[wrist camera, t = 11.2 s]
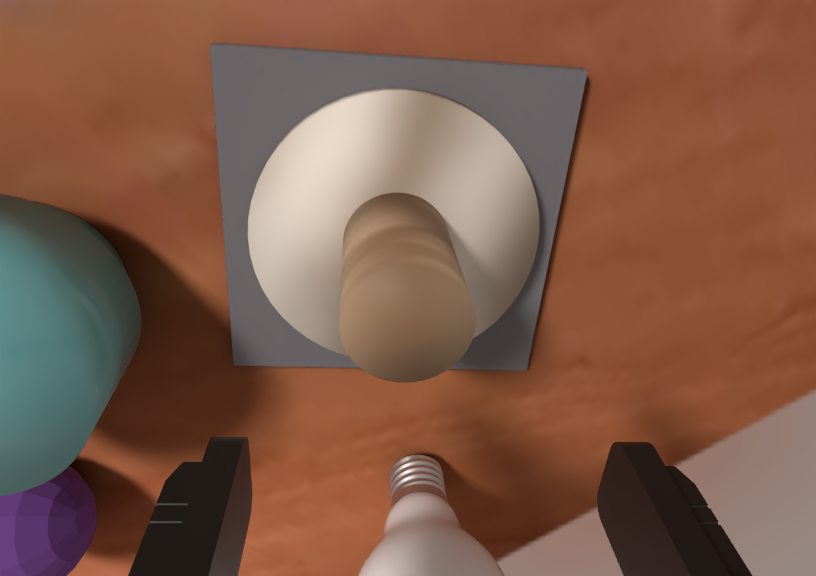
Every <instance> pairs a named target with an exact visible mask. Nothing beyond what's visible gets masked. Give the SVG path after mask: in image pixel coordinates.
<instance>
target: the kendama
mask: <svg viewBox="0 0 816 576" xmlns="http://www.w3.org/2000/svg"><path fill="white" fill-rule="evenodd" d="M96 524H97V507H96V502H95V498H94V495H93V493H92V491H91V490H90V488H89V486H88V485H87V483H86V482H85V481H84V479H83V478H82V477H81V475H80V474H79V472H78V471H76V470H75V469H73V468H71V467H70V466H68V467H67V468H66V469H65V470H64V471H62V472H61V473H60V474H58V475H57V476H56V477H54V478H53V479H51V480H49V481H47V482H45V483H43V484H41V485H39V486H37V487H34V488H31V489H29V490H26V491H23V492H19V493H15V494H11V495H6V496H0V576H67V575H68V574H69V573H70V572H71V571H72V570H73V569H74V568H75V567H76V565H77V564H78V562H79V561H80V559H81V558H82V556H83V555H84V553H85V552H86V550H87V549H88V547H89V545H90V543H91V541H92V539H93V536H94V532H95V528H96Z"/></svg>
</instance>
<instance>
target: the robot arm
mask: <svg viewBox="0 0 816 576" xmlns="http://www.w3.org/2000/svg"><path fill="white" fill-rule="evenodd" d="M597 503H598V512H599V516H600V519H601V522H602V525H603V527H604V529H605V532H606V534H607V537H608V539H609V541H610V544H611V546H612V548H613V551H614V553H615V556H616V558H617V561H618V563H619V565H620V568H621V570H622V573H623V575H624V576H752V575H751V573H750V571H749V570H748V568H747V567H746V565H745V563H744V562H743V560H742V559H741V557H740V555H739V554H738V552H737V551H736V549H735V547H734V546H733V544H732V543H731V541H730V539H729V538H728V536H727V535H726V533H725V531H724V530H723V528H722V527H721V525H718V520H717V519H716V517H715V515H714V514H713V512H712V511H711V509H710V508H708V507H707V505H708V504H707V503H706V501H705V500H704V498H703V497H702V495H701V493H700V491H699V490H698V488H697V487H696V485H695V484H694V483H693V482H692V481H691V480H690V479H689V478H687V477H686V476H685V475H684V474H683V473H682V472H681V471H679V470H678V469H677V468H676V467H675V466H665V465H664V463H663V461H662V460H661V458H660V456H659V455H658V453H657V451H656V449H655V448H654V446H653V445H652V444H650V443H648V442H615V443H613V444H612V446H611V449H610V452H609V455H608V459H607V462H606V466H605V469H604V473H603V476H602V479H601V483H600V486H599V490H598V497H597ZM251 506H252V481H251V468H250V455H249V443H248V438H247V437H211V438H210V440H209V443H208V445H207V448H206V451H205V454H204V457H203V460H202V462H183V463H182V464H181V465H180V466H179V467H178V468H177V469H176V470H175V471H174V472H173V473H172V474H171V475H170V476H169V478H168V479H167V480H166V481H165V483H164V486H163V488H162V491H161V494H160V496H159V499H158V501H157V507H155V509H154V511H153V514H152V516H151V519H150V524H149V525H148V527H147V529H146V532H145V534H144V537H143V539H142V542H141V544H140V547H139V550H138V552H137V555H136V557H135V560H134V562H133V565H132V567H131V570H130V572H129V575H128V576H238V572H239V567H240V562H241V558H242V553H243V548H244V544H245V539H246V534H247V530H248V525H249V520H250V515H251Z"/></svg>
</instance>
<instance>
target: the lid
mask: <svg viewBox="0 0 816 576" xmlns="http://www.w3.org/2000/svg"><path fill="white" fill-rule="evenodd" d="M538 238H539V210H538V204H537V198H536V194H535V191H534V187H533V184H532V181H531V178H530V176H529V174H528V172H527V170H526V168H525V166H524V164H523V162H522V160H521V159H520V157H519V156H518V154H517V153H516V152H515V150H514V149H513V147H512V146H511V145H510V143H509V142H508V141H507V140H506V139H505V138H504V137H503V135H502V134H501V133H500V132H499V131H498V130H497V129H496V128H495V127H494V126H493V125H492V124H491V123H490V122H488V121H487V120H486V119H485V118H484V117H482V116H481V115H480V114H479V113H477V112H475V111H474V110H472V109H470V108H469V107H467V106H465V105H464V104H462V103H460V102H457V101H455V100H453V99H450V98H448V97H446V96H443V95H439V94H436V93H432V92H428V91H425V90H417V89H409V88H380V89H373V90H366V91H361V92H358V93H354V94H351V95H347V96H344V97H342V98H339V99H337V100H335V101H332V102H330V103H328V104H326V105H324V106H322V107H321V108H319V109H317V110H316V111H314V112H312V113H311V114H309V115H308V116H306V117H305V118H304V119H303V120H302V121H300V122H299V123H298V124H297V125H296V126H294V127H293V128H292V129H291V130H290V131H289V132H288V134H287V135H286V136H285V137H284V138H283V139H282V140H281V141H280V142H279V144H278V145H277V147H276V148H275V150H274V151H273V153H272V154H271V155H270V157H269V159H268V161H267V163H266V165H265V167H264V169H263V171H262V173H261V175H260V177H259V180H258V182H257V184H256V188H255V191H254V194H253V197H252V200H251V205H250V211H249V217H248V243H249V251H250V257H251V260H252V264H253V268H254V271H255V274H256V276H257V278H258V281H259V283H260V285H261V288H262V289H263V291H264V293H265V294H266V296H267V298H268V299H269V301H270V303H271V304H272V305H273V306H274V307H275V309H276V310H277V311H278V312H279V314H280V315H281V316H282V317H283V318H284V319H285V320H286V321H287V322H288V323H289V324H290V325H291V326H292V327H293V328H295V329H296V330H297V331H299V332H300V333H301V334H303V335H304V336H305V337H307V338H308V339H310V340H312V341H313V342H315V343H317V344H319V345H320V346H322V347H325V348H327V349H329V350H332V351H334V352H336V353H339V354H342V355H346V356H349V357H350V358H351V359H352V361H353V362H354V363H355V364H356V365H357V366H359V367H360V368H361V369H362V370H364V371H365V372H367V373H369V374H371V375H373V376H375V377H378V378H380V379H384V380H388V381H393V382H415V381H421V380H425V379H429V378H432V377H434V376H437V375H439V374H441V373H443V372H445V371H446V370H448V369H449V368H451V367H452V366H453V365H454V364H456V363H457V362H458V361H459V360H460V359H461V358H462V356H463V355H464V354H465V352H466V351H467V350H468V348H469V346H470V344H471V342H472V339H473V338H475V337H476V336H478V335H479V334H481V333H482V332H484V331H485V330H486V329H487V328H489V327H490V326H491V325H492V324H493V323H495V322H496V321H497V320H498V319H499V318H500V317H501V316H502V315H503V314H504V312H505V311H506V310H507V309H508V308H509V307H510V305H511V304H512V303H513V301H514V300H515V299H516V297H517V296H518V295H519V293H520V291H521V289H522V288H523V286H524V284H525V282H526V280H527V278H528V276H529V273H530V271H531V268H532V266H533V263H534V259H535V255H536V251H537V247H538Z"/></svg>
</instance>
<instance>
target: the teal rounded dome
mask: <svg viewBox="0 0 816 576" xmlns="http://www.w3.org/2000/svg"><path fill="white" fill-rule="evenodd" d="M141 326H142V321H141V310H140V305H139V301H138V297H137V294H136V292H135V289H134V287H133V284H132V282H131V280H130V278H129V277H128V273H127V271H126V268H125V266H124V264H123V262H122V260H121V258H120V256H119V255H118V253H117V252H116V251H115V249H114V248H113V246H112V245H111V244H110V243H109V242H108V241H107V240H106V239H105V237H104V236H103V235H101V234H100V233H99V232H98V231H97V230H96V229H95V228H93V227H92V226H91V225H89V224H88V223H86V222H85V221H84V220H82V219H80V218H79V217H77V216H75V215H73V214H71V213H69V212H67V211H65V210H62V209H60V208H57V207H54V206H51V205H48V204H45V203H40V202H35V201H29V200H26V199H23V198H19V197H14V196H9V195H4V194H0V496H6V495H11V494H15V493H19V492H23V491H26V490H29V489H31V488H34V487H37V486H39V485H41V484H43V483H45V482H47V481H49V480H51V479H53V478H54V477H56V476H57V475H58V474H60V473H61V472H62V471H64V470H65V469H66V468H67V467H68V466H69V465H70V464H71V463H72V462H73V461H74V460H75V459H76V457H77V456H78V455H79V453H80V452H81V450H82V449H83V447H84V445H85V444H86V442H87V440H88V438H89V436H90V435H91V433H92V431H93V429H94V427H95V426H96V424H97V422H98V420H99V418H100V417H101V415H102V413H103V411H104V409H105V408H106V406H107V404H108V402H109V400H110V399H111V397H112V395H113V393H114V391H115V390H116V388H117V386H118V384H119V382H120V381H121V379H122V377H123V375H124V373H125V372H126V370H127V368H128V366H129V364H130V363H131V361H132V359H133V357H134V355H135V352H136V350H137V348H138V344H139V341H140V337H141Z"/></svg>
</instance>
